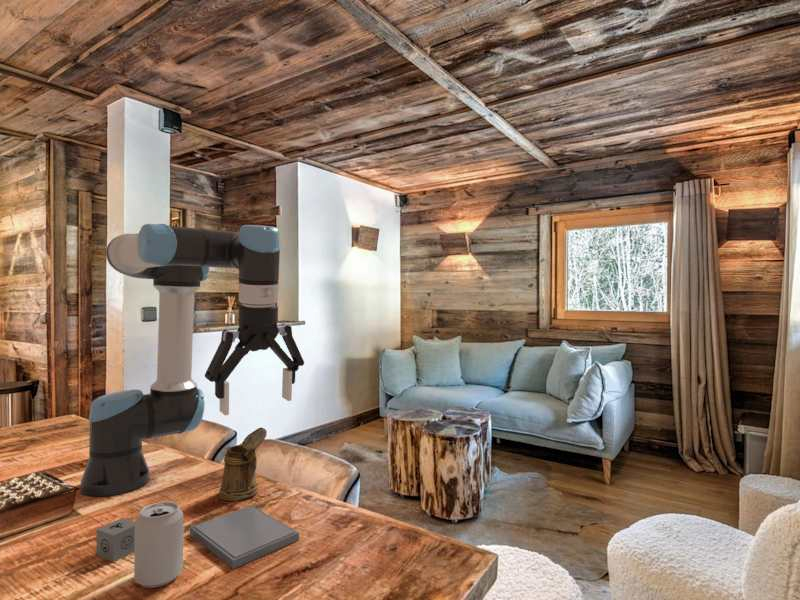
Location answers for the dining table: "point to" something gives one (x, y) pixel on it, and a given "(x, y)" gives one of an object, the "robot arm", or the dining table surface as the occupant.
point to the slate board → (243, 535)
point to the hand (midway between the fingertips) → (256, 405)
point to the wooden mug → (241, 468)
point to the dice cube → (116, 540)
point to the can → (158, 544)
